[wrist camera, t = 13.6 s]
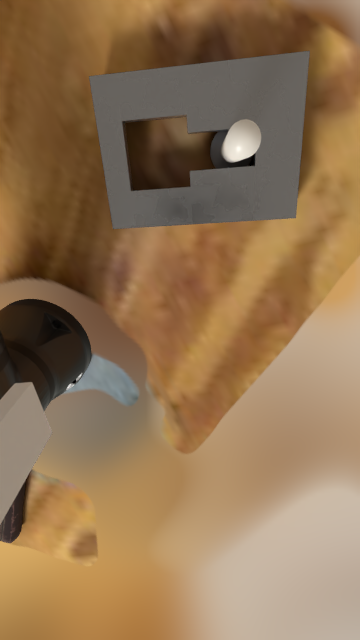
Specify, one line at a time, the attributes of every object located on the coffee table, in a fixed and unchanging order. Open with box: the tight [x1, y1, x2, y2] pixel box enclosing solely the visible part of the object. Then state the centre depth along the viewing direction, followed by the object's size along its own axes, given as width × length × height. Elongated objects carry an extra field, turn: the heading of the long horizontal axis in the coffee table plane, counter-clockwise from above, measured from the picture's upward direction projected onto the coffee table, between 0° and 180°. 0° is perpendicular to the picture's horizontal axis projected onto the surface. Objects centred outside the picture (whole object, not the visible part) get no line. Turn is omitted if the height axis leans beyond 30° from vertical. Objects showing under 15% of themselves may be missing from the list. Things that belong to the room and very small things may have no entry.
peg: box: [210, 119, 261, 169], centre depth 28 cm, size 5×5×14 cm
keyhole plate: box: [89, 51, 310, 229], centre depth 33 cm, size 20×14×4 cm
